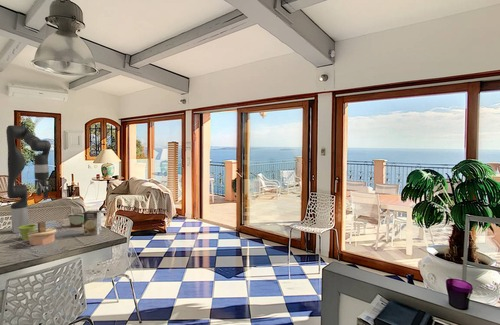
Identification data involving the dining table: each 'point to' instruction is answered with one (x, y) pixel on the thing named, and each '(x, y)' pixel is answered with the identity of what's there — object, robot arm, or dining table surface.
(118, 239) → the dining table surface
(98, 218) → the coffee box
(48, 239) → the terracotta bowl
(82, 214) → the food container
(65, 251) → the dining table surface
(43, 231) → the oak lid
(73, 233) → the charcoal mat
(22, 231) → the plant pot
